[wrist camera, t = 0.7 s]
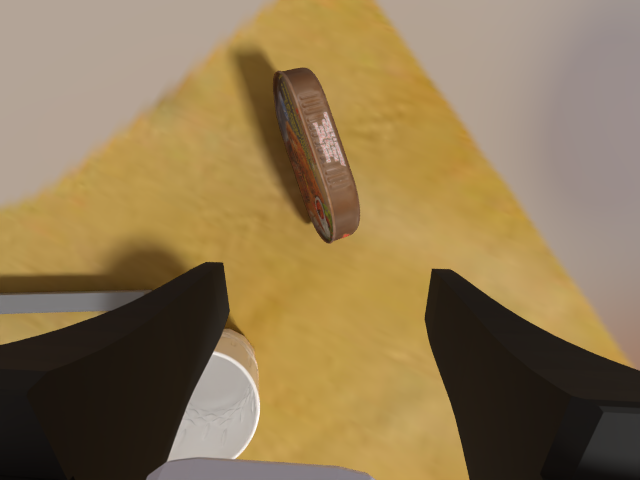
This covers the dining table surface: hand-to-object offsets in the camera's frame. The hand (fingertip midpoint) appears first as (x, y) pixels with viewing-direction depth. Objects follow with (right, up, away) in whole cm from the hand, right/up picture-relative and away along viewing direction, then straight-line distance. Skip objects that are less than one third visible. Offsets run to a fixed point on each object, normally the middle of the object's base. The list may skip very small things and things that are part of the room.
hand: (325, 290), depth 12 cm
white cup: (-10, -10, +20) cm, 24 cm away
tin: (-1, +9, +22) cm, 24 cm away
